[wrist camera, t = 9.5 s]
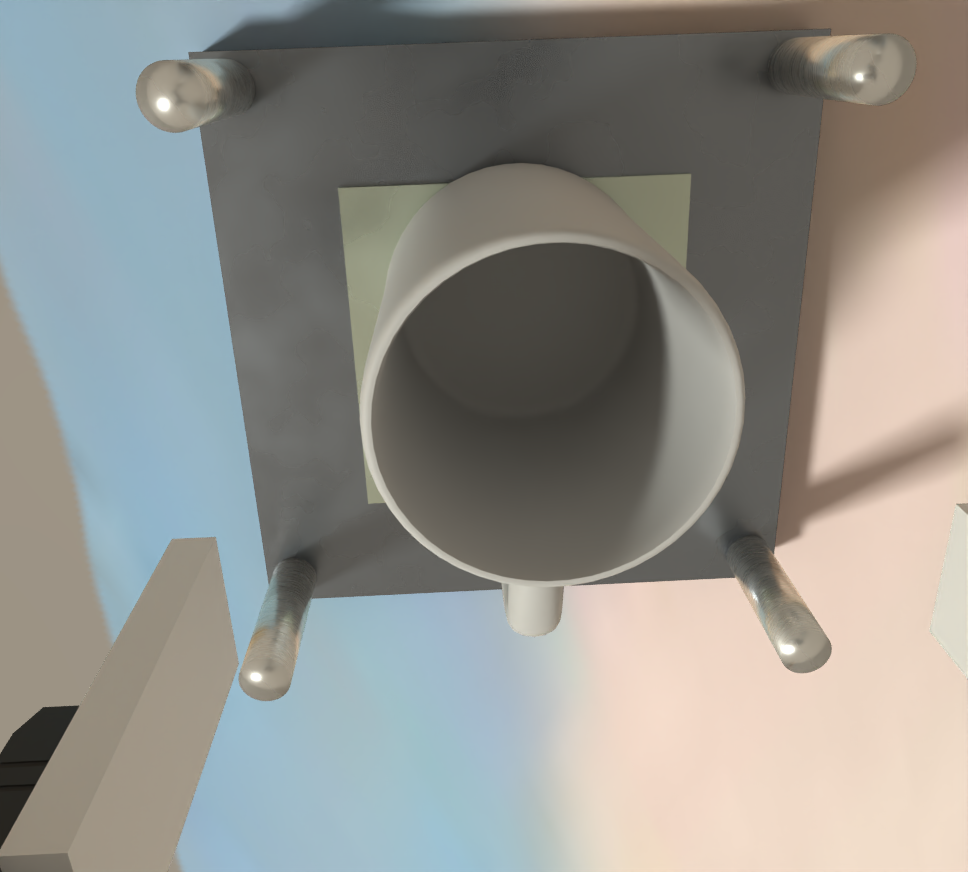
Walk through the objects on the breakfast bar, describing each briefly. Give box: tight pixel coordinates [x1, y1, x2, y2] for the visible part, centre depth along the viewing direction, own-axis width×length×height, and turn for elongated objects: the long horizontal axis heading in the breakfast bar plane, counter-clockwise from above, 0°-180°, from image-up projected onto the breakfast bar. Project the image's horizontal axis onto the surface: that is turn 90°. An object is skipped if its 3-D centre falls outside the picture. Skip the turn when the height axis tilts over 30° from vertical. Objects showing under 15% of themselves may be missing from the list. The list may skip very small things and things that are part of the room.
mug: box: [360, 163, 745, 637], centre depth 25 cm, size 12×8×11 cm
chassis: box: [136, 29, 916, 701], centre depth 28 cm, size 19×19×8 cm
